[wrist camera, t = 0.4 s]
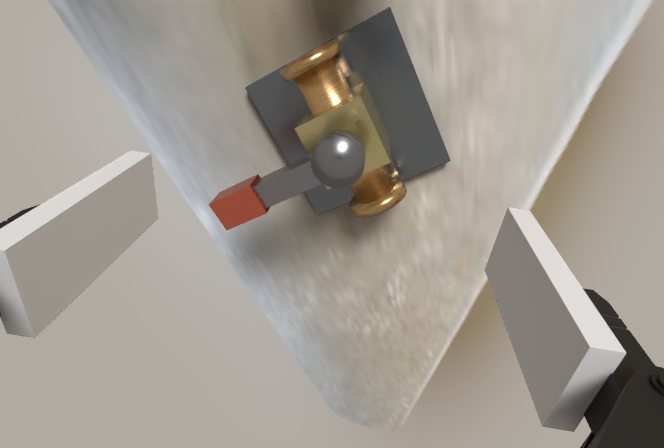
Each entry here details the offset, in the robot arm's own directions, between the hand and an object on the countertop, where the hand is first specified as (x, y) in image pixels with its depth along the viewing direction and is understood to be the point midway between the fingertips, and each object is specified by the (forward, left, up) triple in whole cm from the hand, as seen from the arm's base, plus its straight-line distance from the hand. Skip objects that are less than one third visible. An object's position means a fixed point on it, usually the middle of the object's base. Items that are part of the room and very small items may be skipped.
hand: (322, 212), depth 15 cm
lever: (+3, -7, -17) cm, 19 cm away
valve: (+3, -3, -27) cm, 27 cm away
